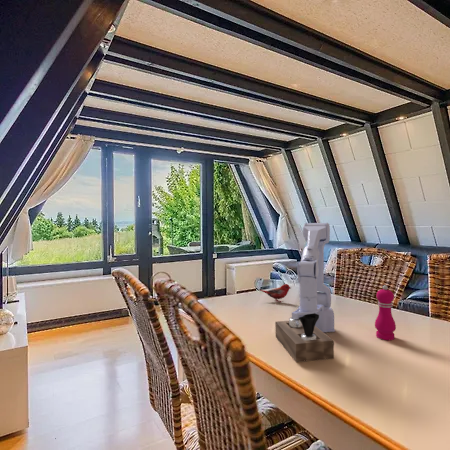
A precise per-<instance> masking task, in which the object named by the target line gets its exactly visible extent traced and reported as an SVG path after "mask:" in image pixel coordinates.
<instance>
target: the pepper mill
mask: <svg viewBox="0 0 450 450" xmlns="http://www.w3.org/2000/svg"><path fill="white" fill-rule="evenodd" d="M375 296H376V299H377V300H378V301H377V305H378V314H377V316H376V319H375V322H374V328H375V329H376V332H375V334H376V335H375V336H376V338H377V339H379V340H384V341H393V340H394V339H395V333H394V332H395V331H396V328H397V325H396V321H395V319H394V317H393V314H392V308H393V301H394V299H395V294H394V293H393V291H391V290H389V289H388V286H387V285H385V284H384V285H382V288H381V289H379V290H378V291H377V292H376V295H375Z"/></svg>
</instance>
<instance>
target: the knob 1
mask: <svg viewBox="0 0 450 450" xmlns="http://www.w3.org/2000/svg"><path fill="white" fill-rule="evenodd" d="M288 321H289V327H291V328H299V327H303V325H302V323H301V321H300V319H299V318H298V319H293V318H292V316H291V317H289V318H288Z"/></svg>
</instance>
